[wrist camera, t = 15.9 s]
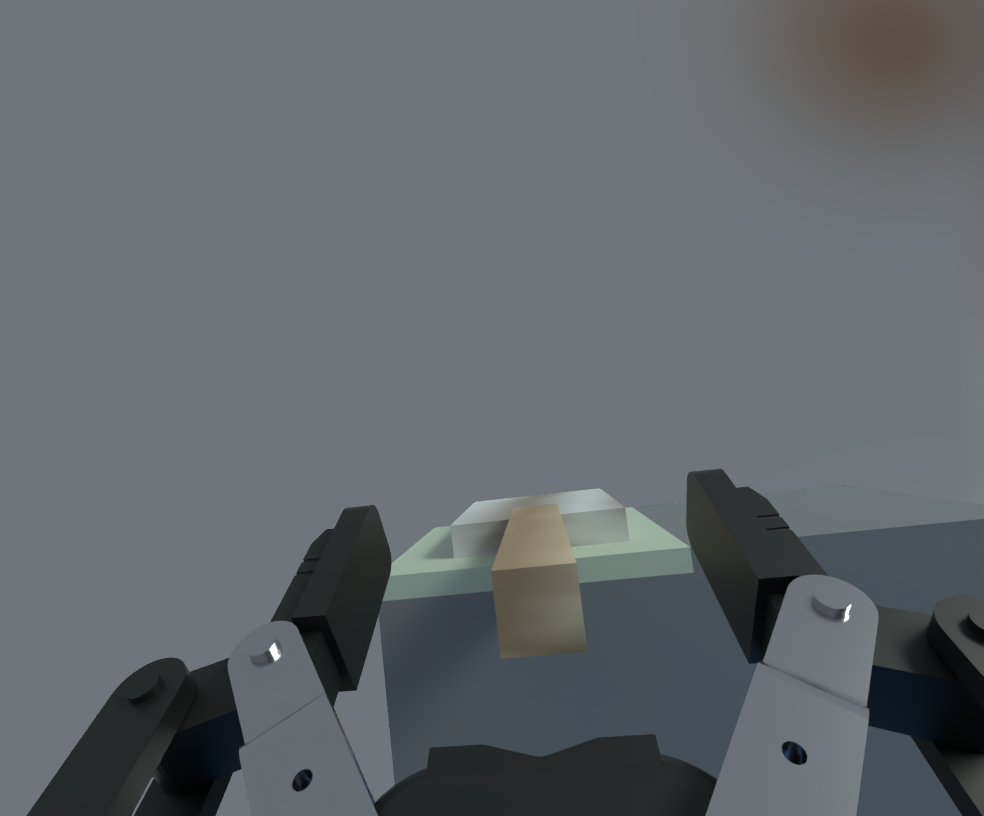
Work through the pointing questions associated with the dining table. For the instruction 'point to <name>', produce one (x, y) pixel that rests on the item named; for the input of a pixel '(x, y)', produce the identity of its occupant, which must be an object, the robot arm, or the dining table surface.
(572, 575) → the hammer
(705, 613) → the blue-grey rectangular block
